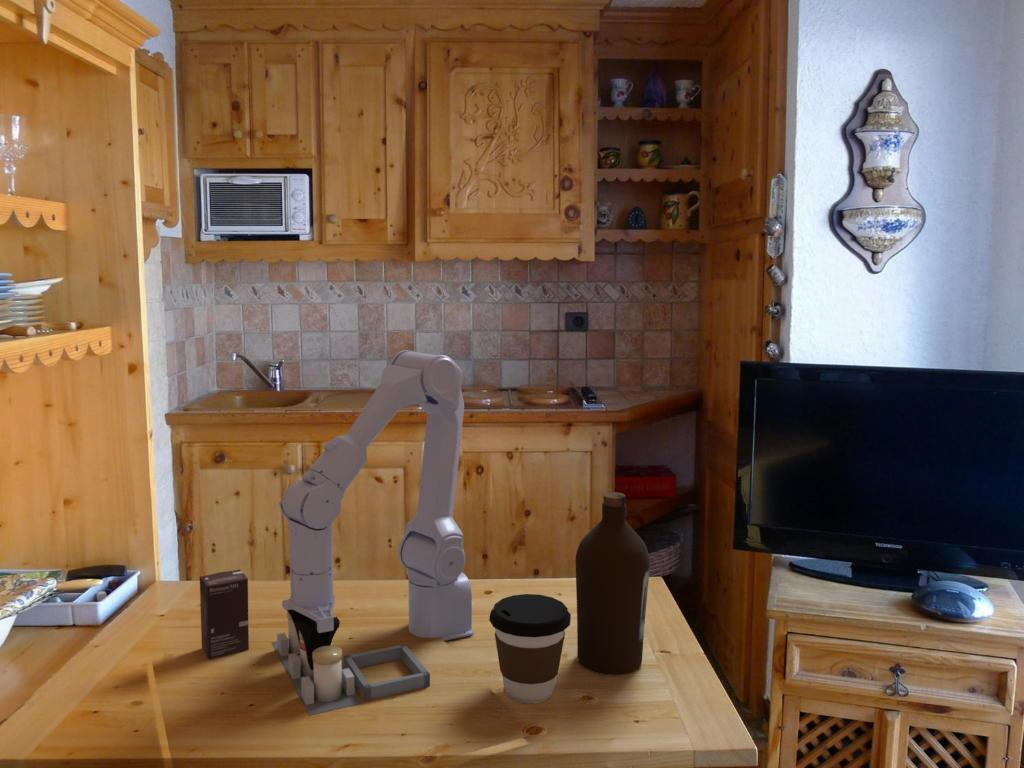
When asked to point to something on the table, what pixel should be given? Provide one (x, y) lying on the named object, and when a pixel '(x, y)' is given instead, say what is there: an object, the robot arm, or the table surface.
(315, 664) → the cylinder
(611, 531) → the olive oil
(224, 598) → the box
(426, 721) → the table surface
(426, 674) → the tray
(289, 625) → the beige capped white cylinder
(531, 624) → the coffee cup
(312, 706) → the holder
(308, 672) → the cylinder
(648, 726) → the table surface
